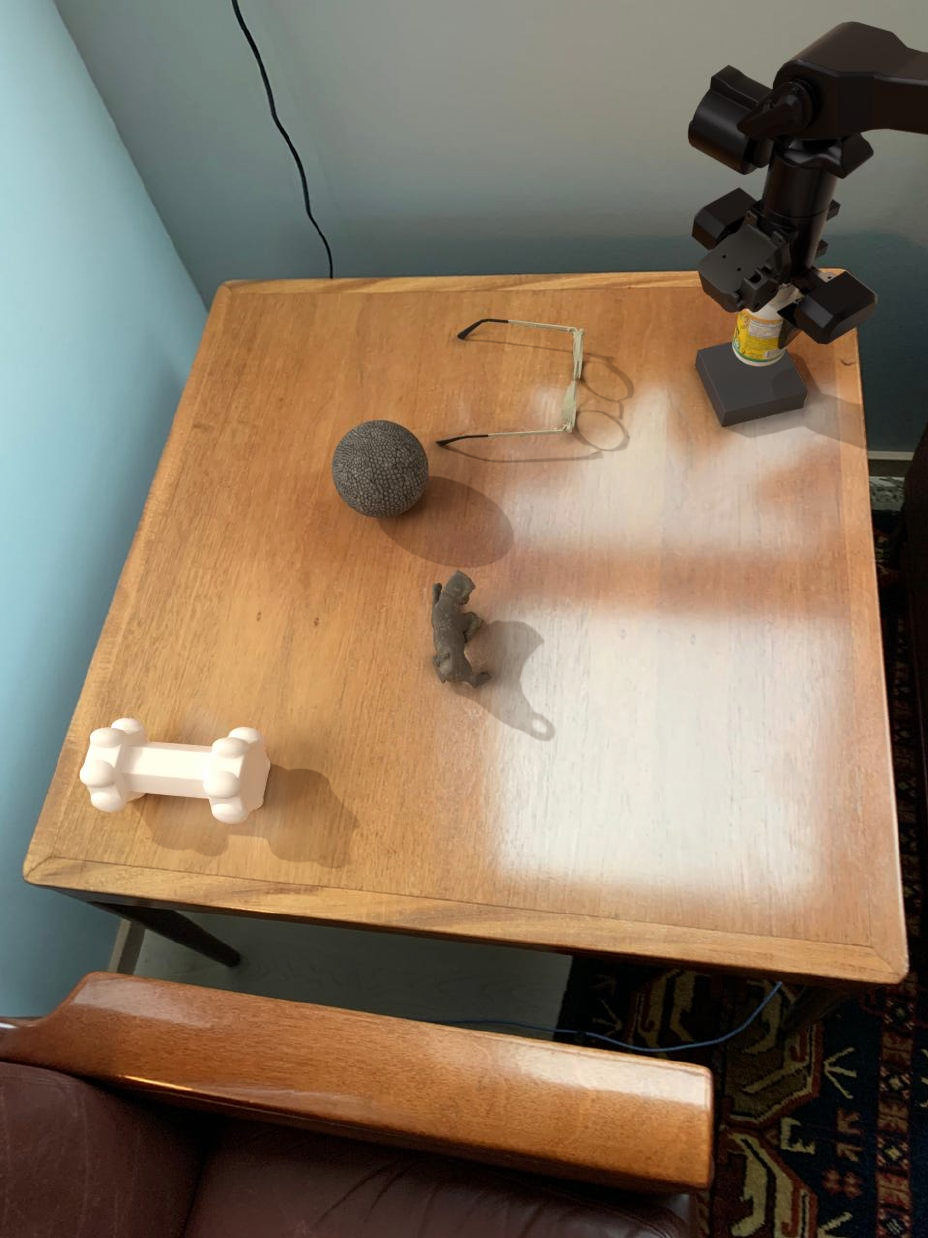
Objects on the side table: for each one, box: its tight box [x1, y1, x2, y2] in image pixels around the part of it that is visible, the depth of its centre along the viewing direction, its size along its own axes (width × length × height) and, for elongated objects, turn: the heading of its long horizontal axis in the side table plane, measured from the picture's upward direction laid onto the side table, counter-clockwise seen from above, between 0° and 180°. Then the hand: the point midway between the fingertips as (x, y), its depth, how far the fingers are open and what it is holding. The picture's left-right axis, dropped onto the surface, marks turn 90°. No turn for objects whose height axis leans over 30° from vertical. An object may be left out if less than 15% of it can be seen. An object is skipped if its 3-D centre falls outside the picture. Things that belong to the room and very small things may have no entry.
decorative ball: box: [331, 419, 430, 519], centre depth 90 cm, size 10×10×10 cm
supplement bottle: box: [732, 285, 799, 366], centre depth 85 cm, size 5×5×10 cm
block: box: [694, 341, 809, 428], centre depth 94 cm, size 9×9×2 cm
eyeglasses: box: [435, 318, 586, 446], centre depth 96 cm, size 17×15×5 cm
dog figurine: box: [430, 569, 492, 689], centre depth 82 cm, size 12×6×7 cm, turn 1°
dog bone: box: [79, 717, 271, 825], centre depth 79 cm, size 15×9×8 cm, turn 83°
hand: (763, 329), depth 87 cm, fingers closed on supplement bottle, 5 cm apart
